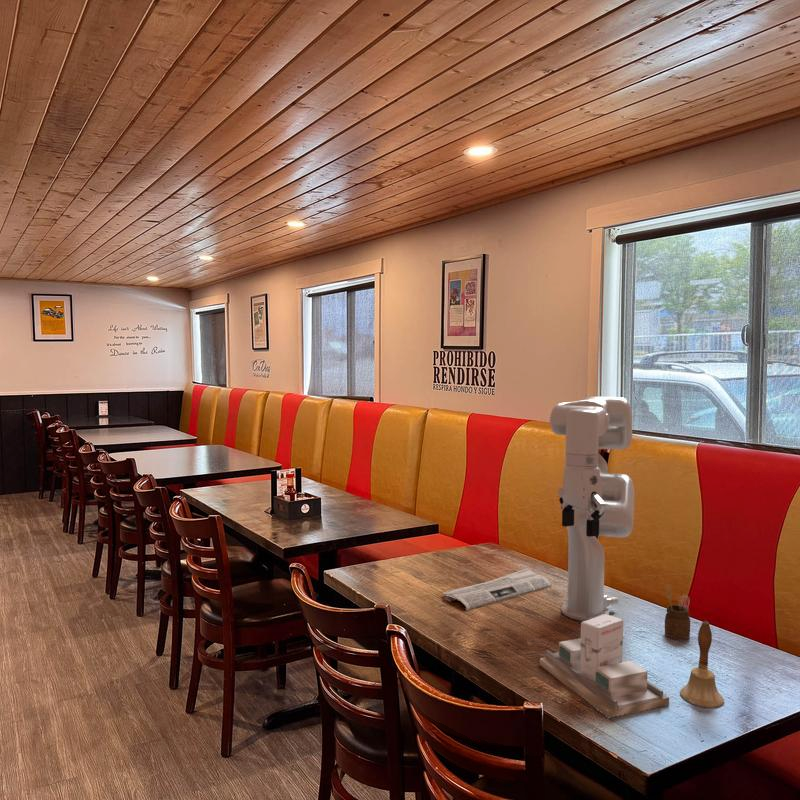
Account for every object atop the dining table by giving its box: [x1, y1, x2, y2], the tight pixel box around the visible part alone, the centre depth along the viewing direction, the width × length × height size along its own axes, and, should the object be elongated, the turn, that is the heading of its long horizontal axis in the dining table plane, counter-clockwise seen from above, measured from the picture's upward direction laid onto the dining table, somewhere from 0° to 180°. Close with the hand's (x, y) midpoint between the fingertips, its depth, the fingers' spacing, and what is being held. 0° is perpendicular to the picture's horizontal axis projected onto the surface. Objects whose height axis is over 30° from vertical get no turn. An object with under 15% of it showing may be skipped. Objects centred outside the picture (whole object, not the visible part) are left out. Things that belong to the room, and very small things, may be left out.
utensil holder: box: [664, 584, 691, 641], centre depth 166 cm, size 6×6×12 cm
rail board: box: [539, 637, 670, 718], centre depth 141 cm, size 15×24×6 cm, turn 21°
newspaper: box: [442, 567, 552, 612], centre depth 197 cm, size 35×12×4 cm, turn 125°
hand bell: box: [679, 620, 725, 709], centre depth 135 cm, size 8×8×16 cm
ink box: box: [580, 614, 624, 682], centre depth 141 cm, size 9×5×12 cm, turn 125°
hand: (579, 530), depth 159 cm, fingers open, 9 cm apart
